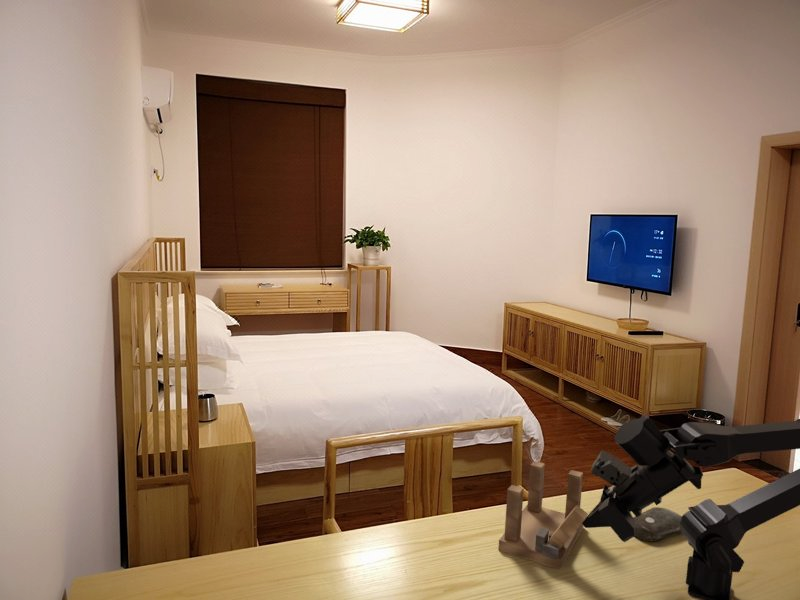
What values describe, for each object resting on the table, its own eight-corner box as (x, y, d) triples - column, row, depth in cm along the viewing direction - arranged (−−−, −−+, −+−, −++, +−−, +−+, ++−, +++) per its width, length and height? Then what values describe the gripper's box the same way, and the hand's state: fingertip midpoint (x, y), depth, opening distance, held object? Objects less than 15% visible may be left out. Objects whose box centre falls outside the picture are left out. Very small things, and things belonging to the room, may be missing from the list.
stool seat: (583, 527, 124) (587, 472, 123) (559, 571, 108) (564, 508, 107) (527, 512, 130) (531, 459, 129) (497, 551, 114) (500, 491, 113)
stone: (639, 530, 118) (613, 507, 128) (640, 550, 119) (614, 526, 129) (701, 518, 121) (671, 497, 130) (702, 538, 121) (671, 515, 131)
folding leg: (558, 549, 112) (588, 513, 109) (554, 556, 110) (584, 519, 106) (547, 540, 113) (577, 504, 110) (543, 547, 111) (573, 510, 107)
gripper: (626, 426, 112) (562, 470, 118) (618, 460, 95) (544, 509, 101) (668, 474, 110) (601, 516, 116) (666, 518, 93) (588, 565, 99)
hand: (583, 524), depth 108 cm, fingers closed, pressing on folding leg
